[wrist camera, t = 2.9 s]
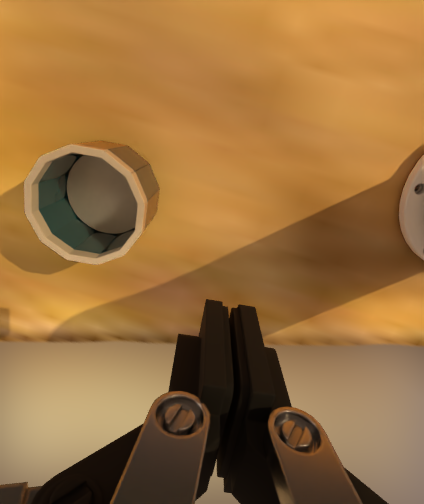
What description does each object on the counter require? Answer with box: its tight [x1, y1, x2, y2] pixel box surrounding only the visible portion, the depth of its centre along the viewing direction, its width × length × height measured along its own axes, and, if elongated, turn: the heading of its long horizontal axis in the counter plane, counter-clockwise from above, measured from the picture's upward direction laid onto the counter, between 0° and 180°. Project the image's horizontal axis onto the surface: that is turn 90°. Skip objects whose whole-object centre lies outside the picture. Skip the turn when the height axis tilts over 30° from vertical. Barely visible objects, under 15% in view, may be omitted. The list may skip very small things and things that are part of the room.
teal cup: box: [24, 141, 160, 265], centre depth 25 cm, size 8×8×6 cm
